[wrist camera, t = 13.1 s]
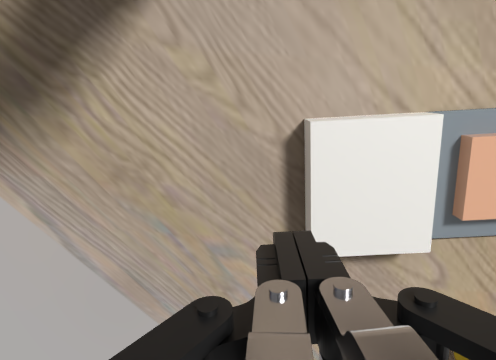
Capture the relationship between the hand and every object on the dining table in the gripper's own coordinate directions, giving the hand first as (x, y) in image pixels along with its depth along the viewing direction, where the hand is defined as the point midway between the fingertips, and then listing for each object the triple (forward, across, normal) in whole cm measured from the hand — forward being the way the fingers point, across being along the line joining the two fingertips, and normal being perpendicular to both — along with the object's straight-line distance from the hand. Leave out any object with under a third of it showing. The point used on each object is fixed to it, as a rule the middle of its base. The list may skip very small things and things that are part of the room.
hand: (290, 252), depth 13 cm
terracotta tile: (+24, -27, +5) cm, 37 cm away
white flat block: (+27, -12, +5) cm, 30 cm away
